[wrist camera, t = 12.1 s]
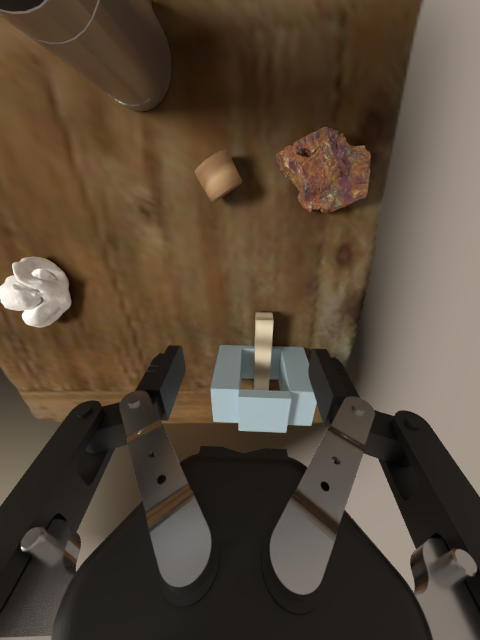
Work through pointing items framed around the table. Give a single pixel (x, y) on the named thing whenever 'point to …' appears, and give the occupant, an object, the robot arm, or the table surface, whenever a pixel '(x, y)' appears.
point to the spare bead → (218, 175)
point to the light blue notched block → (262, 405)
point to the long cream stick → (263, 350)
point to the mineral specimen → (326, 170)
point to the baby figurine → (36, 291)
